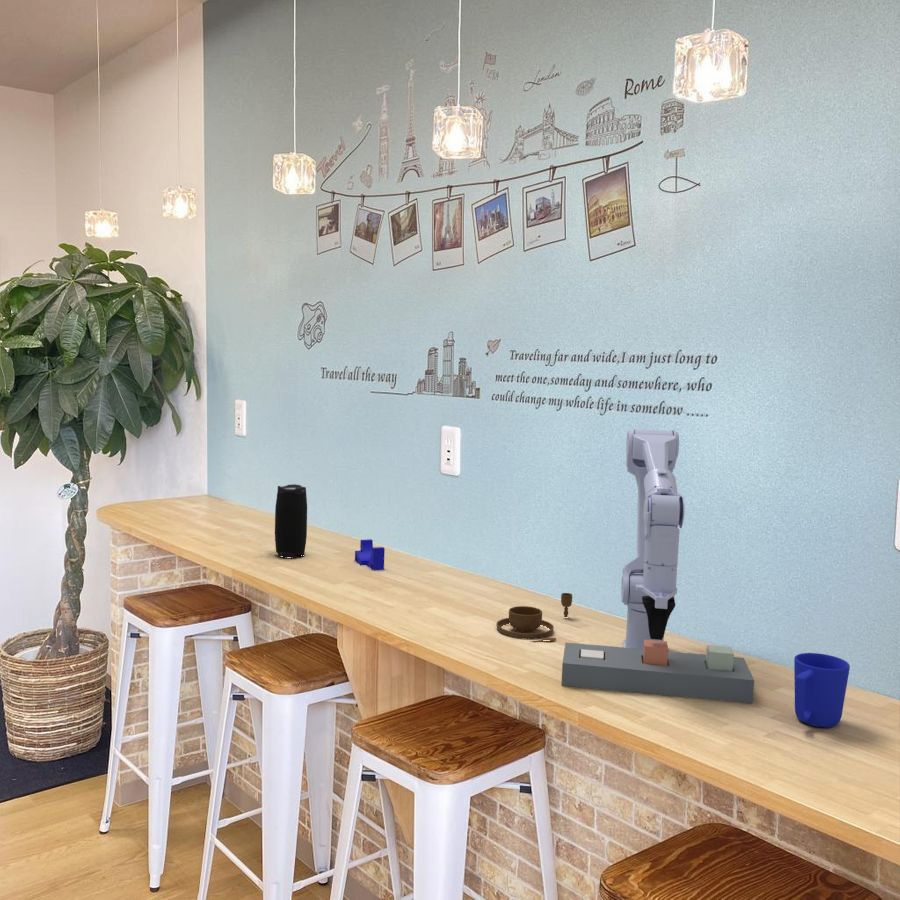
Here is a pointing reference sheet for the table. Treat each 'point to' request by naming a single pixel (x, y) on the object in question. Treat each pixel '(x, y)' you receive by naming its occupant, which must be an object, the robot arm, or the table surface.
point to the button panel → (656, 674)
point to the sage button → (719, 658)
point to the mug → (820, 688)
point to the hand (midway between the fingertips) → (656, 638)
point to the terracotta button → (655, 652)
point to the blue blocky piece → (370, 555)
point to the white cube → (592, 654)
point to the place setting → (530, 621)
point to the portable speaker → (291, 520)
